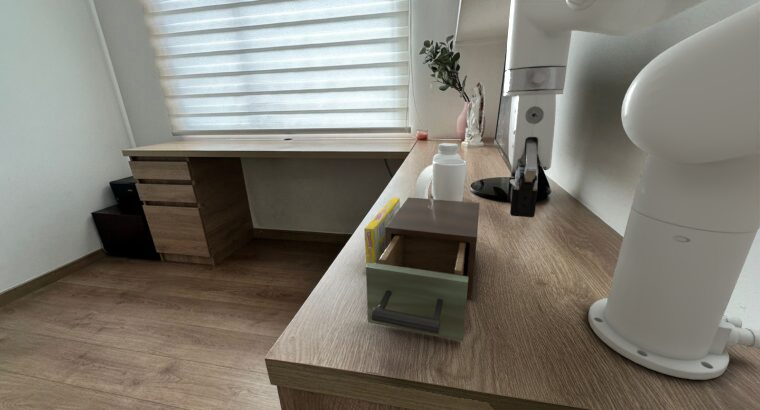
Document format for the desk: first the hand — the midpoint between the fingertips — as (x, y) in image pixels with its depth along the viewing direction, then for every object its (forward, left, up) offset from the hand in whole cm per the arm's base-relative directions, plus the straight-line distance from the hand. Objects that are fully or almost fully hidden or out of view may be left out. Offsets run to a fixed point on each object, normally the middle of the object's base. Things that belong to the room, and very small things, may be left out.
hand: (519, 207), depth 49 cm
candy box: (+22, -1, -11) cm, 25 cm away
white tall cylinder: (+12, -15, -11) cm, 22 cm away
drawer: (+12, +15, -10) cm, 22 cm away
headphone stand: (+17, -24, -11) cm, 31 cm away
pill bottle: (+15, -39, -11) cm, 43 cm away
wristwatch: (0, 0, -1) cm, 1 cm away
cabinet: (+12, +2, -11) cm, 17 cm away
